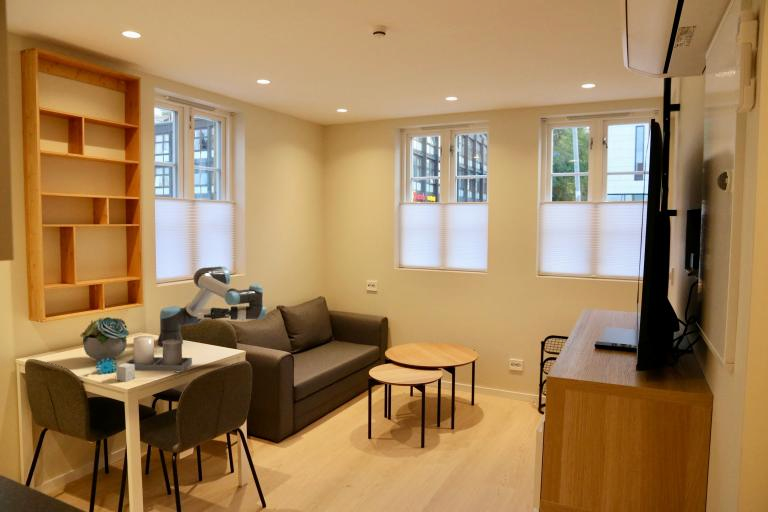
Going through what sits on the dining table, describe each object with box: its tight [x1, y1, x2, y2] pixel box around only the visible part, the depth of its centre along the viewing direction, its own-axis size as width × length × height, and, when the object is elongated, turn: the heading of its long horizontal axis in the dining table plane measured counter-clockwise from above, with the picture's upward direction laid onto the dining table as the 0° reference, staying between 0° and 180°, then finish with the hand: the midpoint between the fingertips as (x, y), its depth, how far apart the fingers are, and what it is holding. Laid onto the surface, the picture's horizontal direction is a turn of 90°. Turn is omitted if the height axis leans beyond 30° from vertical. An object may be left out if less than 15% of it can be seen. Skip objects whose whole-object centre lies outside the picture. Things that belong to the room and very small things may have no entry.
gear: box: [95, 358, 118, 376], centre depth 272 cm, size 11×6×10 cm
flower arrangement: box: [79, 316, 130, 364], centre depth 293 cm, size 25×25×24 cm
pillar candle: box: [162, 339, 183, 365], centre depth 284 cm, size 10×10×15 cm
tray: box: [125, 356, 193, 373], centre depth 284 cm, size 16×31×4 cm, turn 93°
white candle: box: [133, 335, 155, 365], centre depth 283 cm, size 10×10×15 cm
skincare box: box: [115, 362, 136, 382], centre depth 263 cm, size 6×6×7 cm
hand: (197, 313), depth 291 cm, fingers open, 13 cm apart
